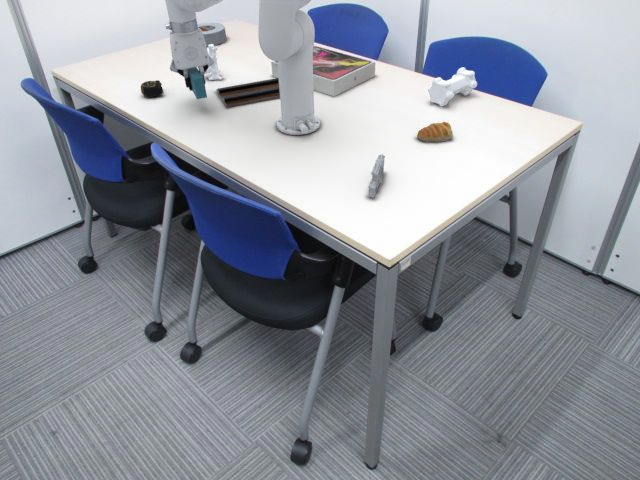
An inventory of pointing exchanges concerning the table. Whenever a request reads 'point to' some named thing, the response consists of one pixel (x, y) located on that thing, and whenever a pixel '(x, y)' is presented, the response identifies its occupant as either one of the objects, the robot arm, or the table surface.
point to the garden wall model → (376, 175)
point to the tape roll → (213, 33)
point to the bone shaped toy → (452, 86)
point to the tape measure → (151, 88)
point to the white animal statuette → (214, 66)
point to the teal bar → (197, 83)
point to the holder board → (249, 92)
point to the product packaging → (336, 71)
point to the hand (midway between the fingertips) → (196, 87)
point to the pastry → (436, 132)
